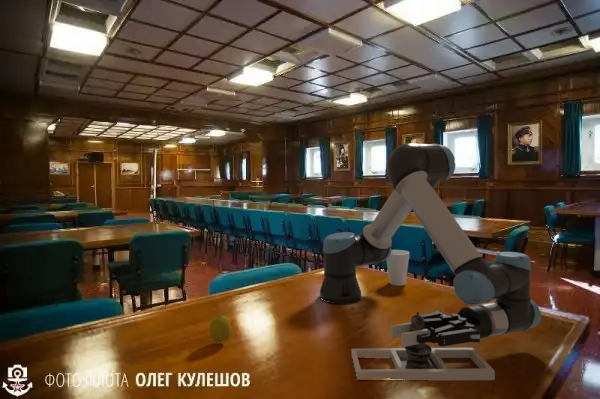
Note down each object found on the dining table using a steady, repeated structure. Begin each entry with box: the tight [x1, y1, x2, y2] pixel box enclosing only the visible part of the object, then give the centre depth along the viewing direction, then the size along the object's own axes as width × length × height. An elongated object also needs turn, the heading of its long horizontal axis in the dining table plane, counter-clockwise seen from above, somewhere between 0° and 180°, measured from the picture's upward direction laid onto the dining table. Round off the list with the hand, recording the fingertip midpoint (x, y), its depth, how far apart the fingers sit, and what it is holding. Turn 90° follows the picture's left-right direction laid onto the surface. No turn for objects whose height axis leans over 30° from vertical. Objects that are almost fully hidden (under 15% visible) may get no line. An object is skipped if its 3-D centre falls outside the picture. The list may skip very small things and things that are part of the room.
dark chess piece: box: [404, 311, 432, 369], centre depth 80 cm, size 6×6×12 cm
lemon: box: [209, 314, 232, 343], centre depth 95 cm, size 6×6×8 cm
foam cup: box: [385, 249, 410, 287], centre depth 144 cm, size 10×9×13 cm
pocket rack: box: [350, 347, 496, 381], centre depth 80 cm, size 29×10×2 cm, turn 88°
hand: (397, 335), depth 78 cm, fingers closed on dark chess piece, 4 cm apart
